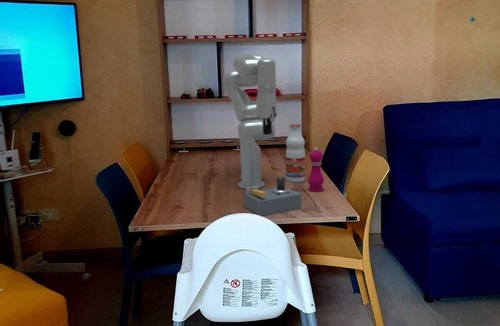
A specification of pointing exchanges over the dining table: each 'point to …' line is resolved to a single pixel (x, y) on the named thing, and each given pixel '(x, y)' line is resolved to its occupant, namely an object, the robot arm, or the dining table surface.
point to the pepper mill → (316, 171)
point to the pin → (280, 186)
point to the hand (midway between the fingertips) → (267, 133)
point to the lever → (258, 192)
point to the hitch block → (272, 202)
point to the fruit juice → (295, 155)
